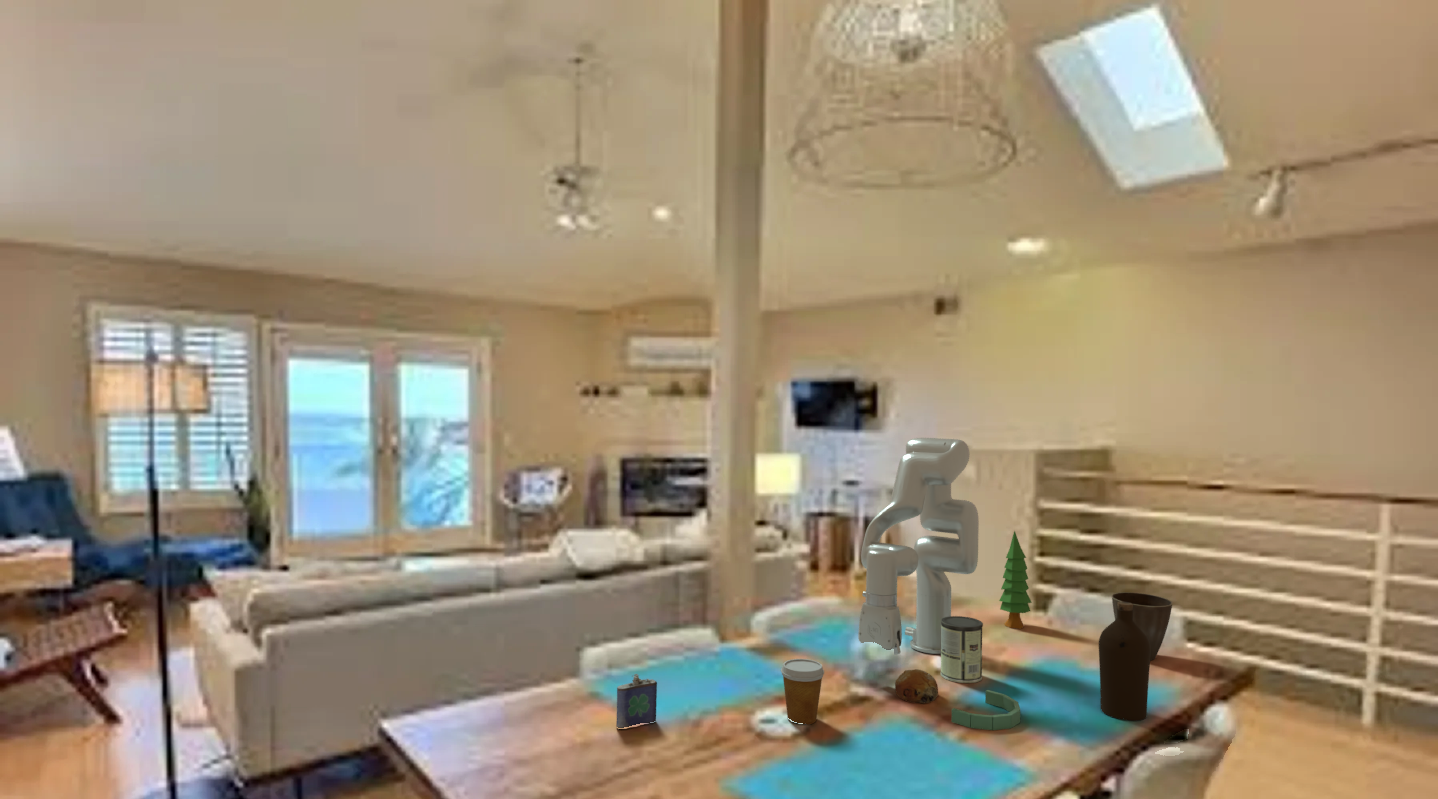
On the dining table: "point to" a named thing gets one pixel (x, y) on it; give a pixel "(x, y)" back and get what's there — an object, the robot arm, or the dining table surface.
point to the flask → (636, 702)
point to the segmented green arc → (990, 720)
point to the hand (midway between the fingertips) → (879, 673)
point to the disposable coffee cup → (802, 689)
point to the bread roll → (916, 686)
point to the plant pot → (1147, 615)
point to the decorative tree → (1015, 585)
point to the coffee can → (961, 649)
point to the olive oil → (1124, 667)
